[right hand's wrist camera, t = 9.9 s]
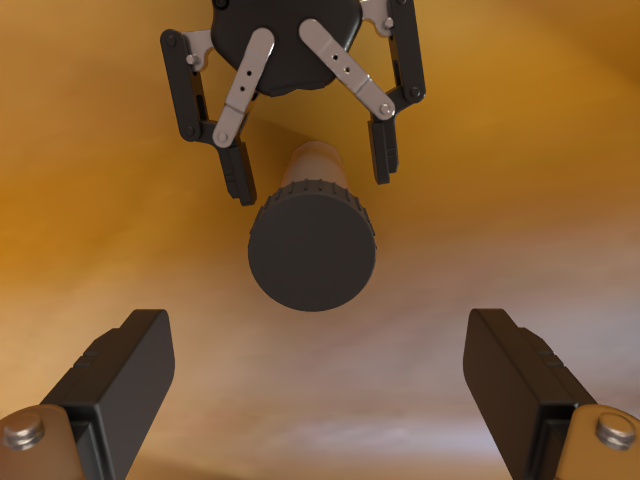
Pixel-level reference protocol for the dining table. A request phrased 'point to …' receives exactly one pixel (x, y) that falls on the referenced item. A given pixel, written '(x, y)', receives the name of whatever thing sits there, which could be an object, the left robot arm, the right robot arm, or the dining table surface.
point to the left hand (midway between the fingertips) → (315, 192)
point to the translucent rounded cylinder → (315, 165)
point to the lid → (312, 246)
